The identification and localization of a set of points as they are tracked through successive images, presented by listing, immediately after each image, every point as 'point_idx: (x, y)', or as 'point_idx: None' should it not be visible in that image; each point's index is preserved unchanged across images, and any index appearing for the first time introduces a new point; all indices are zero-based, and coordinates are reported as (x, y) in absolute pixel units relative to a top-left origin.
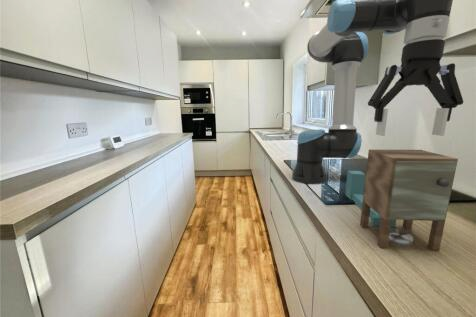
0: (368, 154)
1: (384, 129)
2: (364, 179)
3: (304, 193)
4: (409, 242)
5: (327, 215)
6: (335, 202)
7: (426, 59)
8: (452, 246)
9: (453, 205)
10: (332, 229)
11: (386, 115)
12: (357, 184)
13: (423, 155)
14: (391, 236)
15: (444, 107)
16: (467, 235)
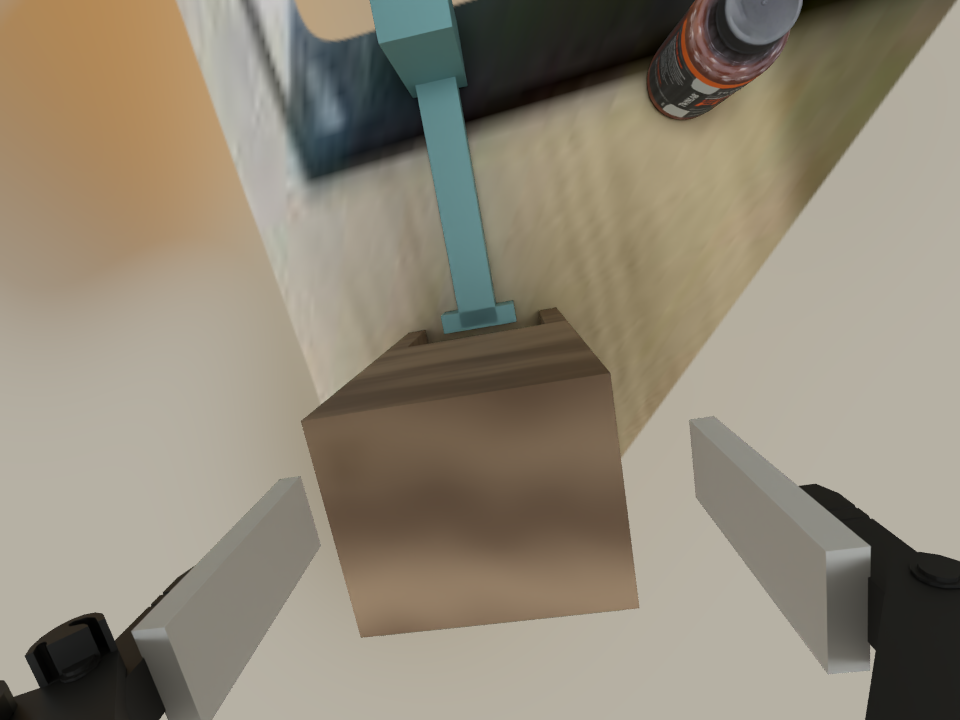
0: (314, 412)
1: (296, 574)
2: (454, 42)
3: (214, 58)
4: None
5: (313, 285)
6: (349, 144)
7: None
8: (621, 398)
9: (861, 34)
10: (324, 380)
11: (237, 668)
12: (425, 62)
13: (526, 553)
14: None
15: (871, 620)
16: (708, 324)
